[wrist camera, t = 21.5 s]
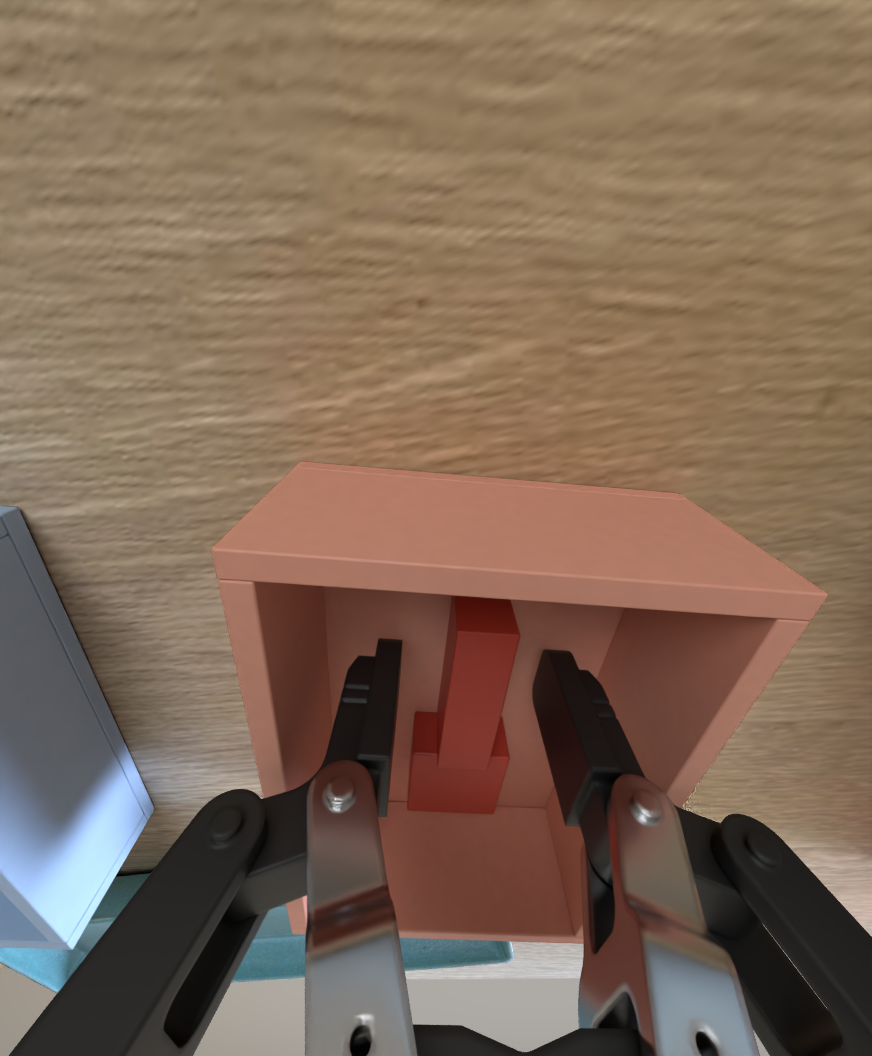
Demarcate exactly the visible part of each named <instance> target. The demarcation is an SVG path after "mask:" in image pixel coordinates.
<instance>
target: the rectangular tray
mask: <svg viewBox="0 0 872 1056" xmlns="http://www.w3.org/2000/svg"><path fill="white" fill-rule="evenodd" d="M150 874H151V873H149V874H139V875H129V876H119V877H115V878H114V880H113V881H112V883H111V885H110V886H109V888H108V890H107V892H106V893H105V895H104V897H103V898H102V900H101V902H100V904H99V905H98V907H97V909H96V910H95V912H94V914H93V916H92V917H91V919H90V921H89V922H88V924H87V926H86V928H85V929H84V931H83V933H82V934H81V936H80V938H79V939H78V941H77V943H76V945H75V946H74V948H73V949H71V950H67V949H34V948H1V947H0V963H1V964H3V965H4V966H6V967H8V968H10V969H12V970H14V971H16V972H17V973H20V974H22V975H24V976H26V977H27V978H29V979H31V980H33V981H34V982H36V983H38V984H40V985H42V986H44V987H46V988H48V989H50V990H52V991H53V992H55V993H58V992H59V991H60V989H61V988H62V987H63V985H64V984H65V983H66V982H67V980H68V979H69V978H70V976H71V975H72V974H73V973H74V971H75V970H76V969H77V967H78V966H79V965H80V964H81V962H82V961H83V960H84V958H85V957H86V956H87V955H88V953H89V952H90V951H91V949H92V948H93V947H94V946H95V944H96V943H97V942H98V940H99V939H100V938H101V937H102V935H103V934H104V933H105V932H106V930H107V929H108V928H109V926H110V925H111V924H112V923H113V921H114V920H115V919H116V917H117V916H118V915H119V914H120V912H121V911H122V910H123V908H124V907H125V906H126V905H127V903H128V902H129V901H130V899H131V898H132V897H133V896H134V894H135V893H136V892H137V890H138V889H139V888H140V887H141V885H142V884H143V883H144V881H145V880H146V879H147V878H148V876H149V875H150ZM305 936H306V935H302V934H293V933H292V930H291V926H290V922H289V917H288V912H287V907H286V904H284V905H281V906H279V907H276V908H273V909H271V910H269V911H268V913H267V915H266V917H265V918H264V920H263V922H262V924H261V926H260V928H259V930H258V932H257V934H256V936H255V938H254V940H253V941H252V943H251V945H250V947H249V949H248V951H247V953H246V955H245V957H244V959H243V961H242V963H241V964H240V966H239V968H238V970H237V972H236V974H235V976H234V978H233V980H232V982H246V981H261V980H275V979H292V978H304V977H305ZM400 945H401V951H402V958H403V964H404V971H412V970H425V969H437V968H451V967H463V966H475V965H487V964H498V963H507V962H509V961H511V960H513V958H514V955H513V949H512V945H511V941H486V940H455V939H424V938H400Z"/></svg>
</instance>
